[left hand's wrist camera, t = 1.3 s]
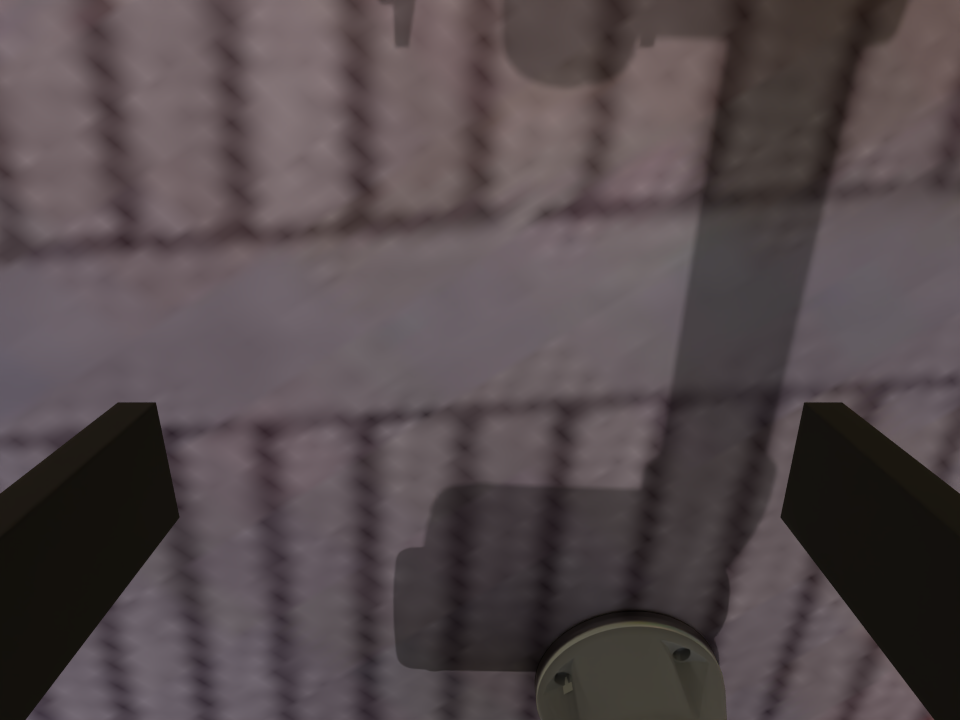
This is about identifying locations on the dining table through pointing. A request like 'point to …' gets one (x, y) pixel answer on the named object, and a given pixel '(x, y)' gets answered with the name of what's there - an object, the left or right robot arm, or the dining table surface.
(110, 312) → the dining table surface
